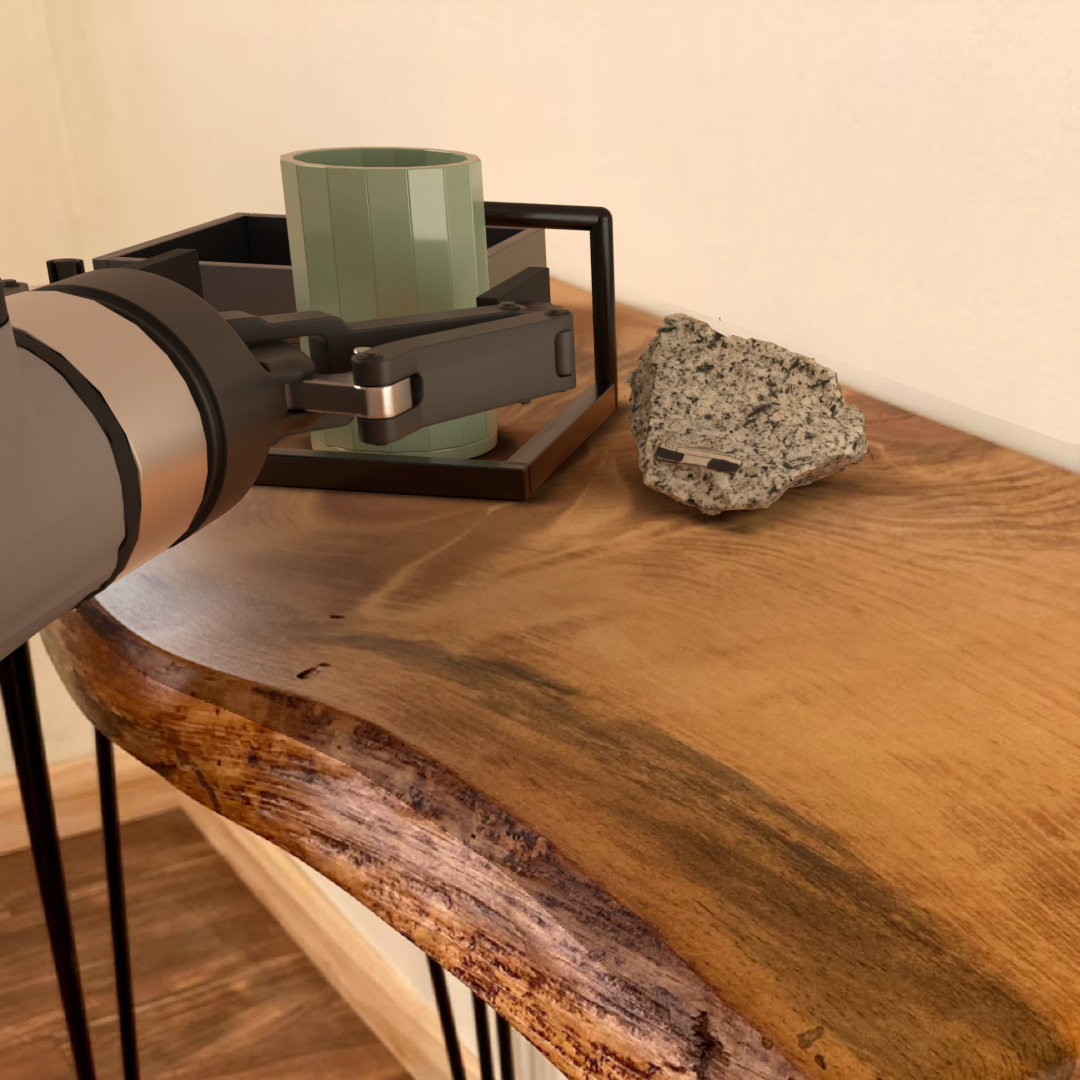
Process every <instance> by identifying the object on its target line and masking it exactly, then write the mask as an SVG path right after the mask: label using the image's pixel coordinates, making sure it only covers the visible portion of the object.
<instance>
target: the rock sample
mask: <svg viewBox="0 0 1080 1080" xmlns="http://www.w3.org/2000/svg"><path fill="white" fill-rule="evenodd" d="M720 322H722V318H721V316H719V317H718V323H717V324H719V323H720ZM724 331H725V330H724V329H723V330H722V332H724ZM655 333H656V336H654V337H653V338H651V339H649V341H648V346H647V347H646V349H645V351H644V353H642V354H640V356H639V357H638V358H637V362H639V361H640V363H639V364H638V366H637V368H635V369H634V370H633V371H631V372H630V375H629V376H627V377H626V378H623V379H621V381H622V383H623V384H628V385H627V386H626V387H629V388H630V390H631V391H630V394H629V395H628V396H629V398H628V401H629V404H628V409H629V411H628V413H629V414H628V415H629V416H628V421H629V423H630V425H629V428H628V429H629V431H630V432H631V434H632V435H631V436H633V437H634V438H635V441H636V446H637V450H638V451H637V457H636V461H637V462H638V468H639V469H640V471H641V472H642V475H643V476H642V482H643V484H644V486H646V487H648V488H650V489H652V490H653V491H655V492H657V493H662V494H664V495H666V496H667V497H668V498H671V499H673V500H675V502H676V503H678V502H680V503H681V506H683V505H685V506H689V507H693V508H695V509H697V510H699V512H701V513H702V514H703V515H704V514H705V515H708V516H716V515H719V514H721V513H723V512H725V511H728V512H729V511H734V510H735V511H740V510H741V511H742V510H745V511H748V510H756V509H767V508H769V507H770V506H771V505H772V504H773V503H775V502H777V501H778V500H779V499H780V498H781V497H782V495H783V494H784V493H785V492H786V491H787V490H788V489H794V488H797V487H804V486H809V485H811V484H812V483H815V482H817V481H820V480H822V479H824V478H827V477H830V476H832V475H835V474H836V475H837V474H840V473H842V472H844V471H845V470H847V469H849V468H850V467H852V466H855V465H858V464H859V463H861V462H863V461H864V458H865V455H867V454H868V449H869V443H868V440H867V430H866V428H867V427H866V424H867V423H866V416H865V415H866V412H865V411H863V410H861V409H860V408H858V406H855V405H854V404H852V403H848V402H847V401H846V398H845V397H844V395H843V392H842V386H841V385H840V384H839V379H838V372H835V371H834V370H833V369H832V368H830V367H826V366H824V365H822V364H820V363H818V362H816V359H815V357H810V356H806V355H804V354H800V353H797V352H793V351H790V350H789V349H788V348H787V347H784V346H782V345H778V344H777V343H775V342H772V341H765V340H760V339H757V338H754V337H749V338H744V337H742V336H738V335H735V334H731V335H729V334H728V335H727V336H726V335H724V334H722V333H720V332H719V331H717V330H715V329H713V328H712V326H711V325H710V324H709V323H708V322H705V321H702V320H701V319H700V320H699V319H698V318H694V317H693V316H691V315H690V316H689V315H688V314H685V313H683V312H682V313H681V312H679V313H678V312H677V313H673V314H669V315H666V316H664V318H663V319H662V321H661V325H660V327H659V328H657V329H656V331H655ZM632 360H633V359H632ZM626 397H627V395H624V398H626ZM873 452H874V450H872V451H871V452H870V453H869V455H871V454H872V453H873ZM633 456H635V453H634V454H633Z"/></svg>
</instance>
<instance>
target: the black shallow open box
mask: <svg viewBox="0 0 1080 1080" xmlns="http://www.w3.org/2000/svg"><path fill="white" fill-rule="evenodd" d="M485 229H486V245H487V261H488V278H489V290H490V289H491V288H493V287H495V286H497V285H498V284H500V283H502V282H503V281H505V280H507V279H509V278H510V277H512V276H514V275H516V274H517V273H519V272H521V271H523V270H524V269H526V268H528V267H547V268H548V266H547V265H548V264H547V247H546V246H547V244H546V229H539V228H518V227H497V226H485ZM178 248H180V249H197V251H198V259H199V266H200V274H201V281H202V289H203V296H204V300H205V301H206V302H207V303H209V304H210V305H211V306H212V307H213V308H214V309H216V310H217V311H218V312H227V311H242V312H245V313H248V314H251V315H254V316H257V317H258V316H267V315H276V314H284V313H293V312H297V310H296V301H295V292H294V283H293V274H292V265H291V256H290V247H289V237H288V228H287V219H286V214H279V213H276V214H275V213H258V212H257V213H256V212H251V213H250V212H234V213H232V214H229V215H225V216H222V217H219V218H215V219H213V220H210V221H206V222H202V223H199V224H198V225H194V226H190V227H187V228H184V229H181V230H178V231H175V232H172V233H168V234H165V235H163V236H159V237H156V238H152V239H149V240H147V241H143V242H139V243H136V244H134V245H130V246H127V247H124V248H121V249H118V250H115V251H112V252H109V253H105V254H103V255H98V256H96V257H93V258H92V259H91V261H92V267H93V268H92V269H93V271H94V270H99V269H109V268H121V267H124V266H127V265H130V264H133V263H136V262H139V261H142V260H145V259H148V258H151V257H154V256H157V255H160V254H163V253H166V252H169V251H172V250H175V249H178ZM287 340H288V341H290V342H291V343H292V344H293V345H295V346H296V347H297V348H298V349H300V350H301V346H300V337H296V338H288V339H287Z"/></svg>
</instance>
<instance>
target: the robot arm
mask: <svg viewBox="0 0 1080 1080" xmlns="http://www.w3.org/2000/svg"><path fill="white" fill-rule="evenodd" d="M45 264H46V270H47V276H48V281H49V283H48V284H46V285H43V286H39V287H37V288H33V289H30V287H29V284H28V283H27V282H23V281H17V280H16V279H15V278H14V279H13V278H4V279H2V278H1V277H0V662H1V661H2V660H4V659H5V658H6V657H8V656H9V655H10V654H11V653H13V652H14V651H15V650H17V649H18V648H19V647H21V646H22V645H24V644H25V643H27V641H29V640H30V639H31V638H33V637H34V636H36V635H37V634H38V633H39V632H41V631H42V630H44V629H45V628H46V627H48V626H49V625H51V624H52V623H54V622H55V621H57V620H66V619H67V618H68V617H70V616H71V615H72V614H74V613H75V612H76V611H77V609H80V608H82V607H83V606H84V605H86V604H87V603H88V602H90V601H91V600H92V599H93V598H94V597H96V596H97V595H98V594H100V593H102V592H104V591H105V590H106V589H108V587H110V586H112V584H115V583H117V582H118V581H119V580H121V579H123V578H124V577H126V576H128V575H129V574H131V573H132V572H134V571H136V570H137V569H138V568H139V569H140V568H141V567H142V566H143V565H145V564H147V563H149V562H150V561H152V560H153V559H155V558H156V557H159V556H160V555H161V554H163V553H164V552H166V551H167V550H169V549H171V548H174V547H175V546H178V545H179V544H180V543H182V542H184V541H185V540H187V539H189V538H190V537H192V536H193V535H194V534H196V533H198V532H199V531H201V530H203V529H204V528H205V527H207V526H209V525H210V524H211V523H213V522H214V521H216V520H217V519H219V518H221V517H222V516H224V515H225V514H226V513H228V512H229V511H231V510H232V509H233V508H234V507H235V506H237V505H238V504H239V503H240V502H241V501H242V499H243V498H245V496H246V495H247V494H248V492H249V491H250V489H251V488H252V486H253V485H254V484H253V483H254V482H255V480H256V478H257V476H258V474H259V472H260V470H261V468H262V466H263V464H264V462H265V459H266V457H267V455H268V452H269V450H270V448H271V447H272V446H275V445H276V444H277V443H278V442H279V441H280V440H281V439H282V438H283V437H286V436H292V435H298V434H299V435H300V434H304V433H310V432H312V431H318V430H324V429H330V428H337V427H343V426H346V425H348V424H350V423H351V422H352V421H353V419H354V417H355V416H357V423H358V434H359V440H360V441H361V442H364V443H366V444H372V445H375V446H383V445H388V444H389V443H392V442H396V441H398V440H400V439H402V438H404V437H406V436H408V435H410V434H412V433H414V432H416V431H417V430H419V429H421V428H423V427H427V426H431V425H435V424H439V423H443V422H447V421H450V420H454V419H458V418H462V417H466V416H470V415H474V414H478V413H481V412H485V411H489V410H493V409H497V410H498V409H500V408H504V407H508V406H511V405H516V404H521V405H522V406H526V405H529V404H531V403H532V400H535V399H539V398H543V397H548V396H550V395H555V394H559V393H565V392H567V391H570V390H573V389H576V388H577V370H576V369H577V368H576V367H577V366H576V345H575V343H576V341H575V322H574V321H575V319H574V318H575V317H574V312H572V311H571V310H569V309H563V308H562V307H559V306H553V304H552V301H551V300H552V299H551V298H552V297H551V278H550V277H551V275H550V267H548V266H547V267H528V268H526V269H524V270H523V271H521V272H519V273H517V274H516V275H514V276H512V277H510V278H509V279H507V280H505V281H503V282H502V283H500V284H498V285H497V286H495V287H493V288H491V289H490V290H488V291H486V292H484V293H483V294H481V295H479V296H477V297H476V306H477V307H474V308H465V309H457V310H449V311H440V312H432V313H424V314H415V315H407V316H399V317H391V318H382V319H374V320H366V321H357V322H349V323H345V322H344V321H343V320H342V319H340V318H339V317H336V316H333V315H330V314H327V313H324V312H321V311H316V310H311V311H302V312H293V313H284V314H276V315H267V316H258V317H257V316H254V315H251V314H248V313H245V312H242V311H227V312H218V311H217V310H216V309H214V308H213V307H212V306H211V305H210V304H209V303H207V302H206V301H205V300H204V296H203V289H202V281H201V274H200V266H199V259H198V251H197V249H180V248H178V249H175V250H172V251H169V252H166V253H163V254H160V255H157V256H154V257H151V258H148V259H145V260H142V261H139V262H136V263H133V264H130V265H127V266H124V267H121V268H109V269H99V270H94V269H93V270H89V271H86V269H85V262H84V259H81V258H70V257H67V258H66V257H65V258H53V259H48V260H46V261H45ZM304 336H308V340H309V349H310V357H309V356H307V355H306V354H305V353H304V352H302V351H301V350H300V349H298V348H297V347H296V346H295V345H293V344H292V343H291V342H290V341H288V340H287V339H288V338H296V337H304Z"/></svg>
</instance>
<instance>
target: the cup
mask: <svg viewBox="0 0 1080 1080" xmlns="http://www.w3.org/2000/svg"><path fill="white" fill-rule="evenodd" d="M279 164H280V174H281V182H282V183H281V184H282V190H283V191H282V192H283V201H284V208H285V209H284V210H285V215H286V219H287V228H288V237H289V247H290V256H291V265H292V274H293V283H294V292H295V301H296V310H297V312H302V311H311V310H316V311H321V312H324V313H327V314H330V315H333V316H336V317H339V318H340V319H342V320H343V321H344V322H345V323H349V322H357V321H366V320H374V319H382V318H391V317H399V316H407V315H415V314H424V313H432V312H440V311H449V310H457V309H465V308H474V307H477V306H476V297H477V296H479V295H481V294H483V293H484V292H486V291H488V290H489V278H488V261H487V245H486V229H485V213H484V201H485V200H484V199H485V198H484V183H483V181H484V180H483V166H482V160H481V158H480V157H479V156H478V155H477V154H474V153H470V152H464V151H459V150H452V149H451V150H450V149H443V148H442V149H441V148H431V147H414V146H413V147H412V146H341V147H340V146H339V147H319V148H309V149H302V150H301V149H300V150H294V151H291V152H286V153H283V154H281V155H280V156H279ZM300 346H301V351H302V352H304V353H305V354H306V355H307V356H309V357H310V349H309V340H308V336H304V337H300ZM498 430H499V426H498V408H497V409H493V410H489V411H485V412H481V413H478V414H474V415H470V416H466V417H462V418H458V419H454V420H450V421H447V422H443V423H439V424H435V425H431V426H427V427H423V428H421V429H419V430H417V431H416V432H414V433H412V434H410V435H408V436H406V437H404V438H402V439H400V440H398V441H396V442H392V443H389V444H388V445H383V446H375V445H372V444H366V443H364V442H361V441H360V440H359V434H358V423H357V416H355V417H354V419H353V421H352V422H351V423H350V424H348V425H346V426H343V427H337V428H330V429H324V430H318V431H312V432H309V435H310V442H311V447H312V450H323V451H339V452H356V453H372V454H389V455H406V456H422V457H439V458H455V459H473V458H476V457H479V456H481V455H484V454H487V453H488V452H491V451H492V450H493V449H495V447H496V446H497V443H498Z"/></svg>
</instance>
